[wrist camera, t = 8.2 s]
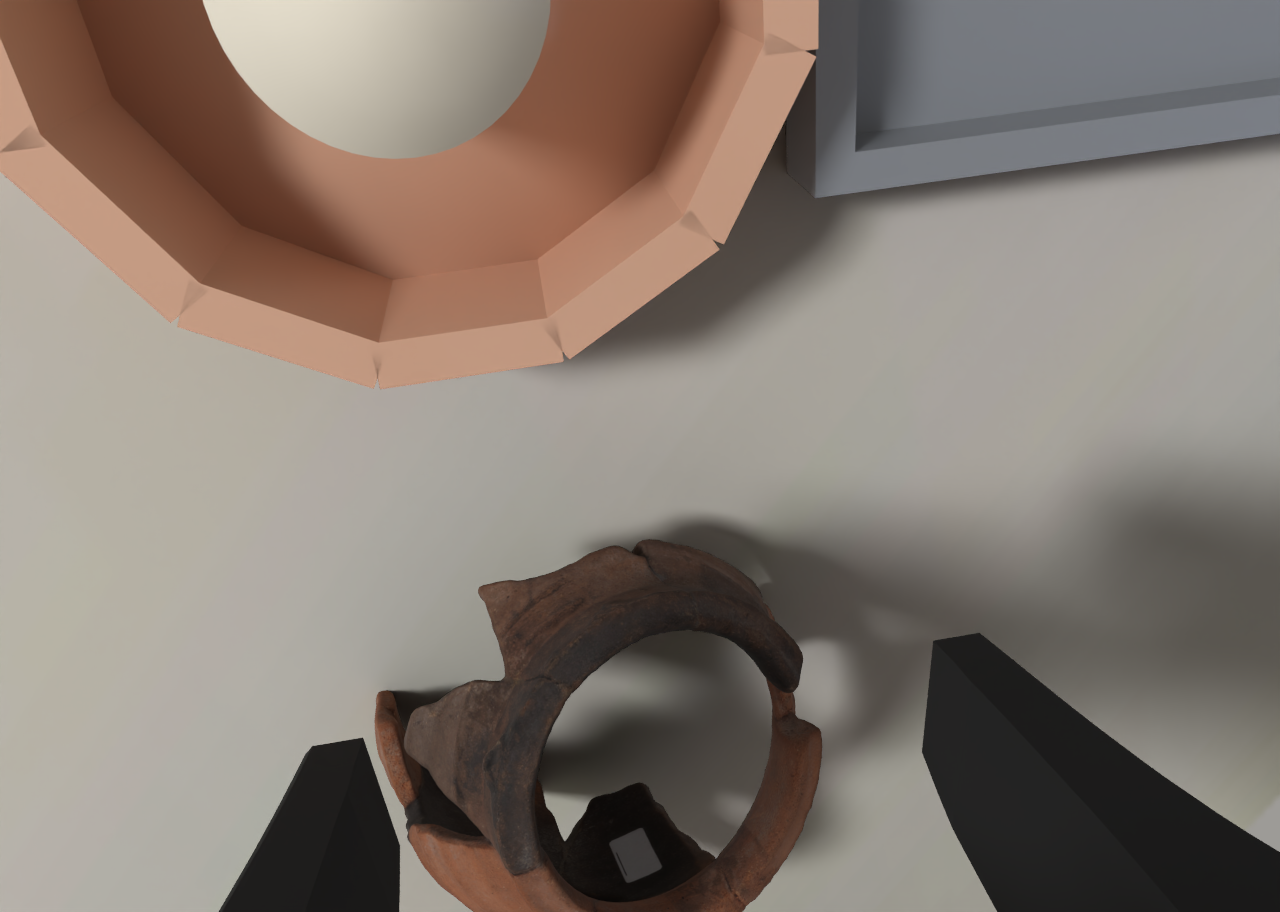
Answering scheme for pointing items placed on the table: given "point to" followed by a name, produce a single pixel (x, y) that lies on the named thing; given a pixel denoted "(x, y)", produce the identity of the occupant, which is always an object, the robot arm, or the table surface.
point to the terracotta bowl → (401, 181)
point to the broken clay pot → (524, 716)
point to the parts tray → (1024, 85)
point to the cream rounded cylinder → (384, 66)
